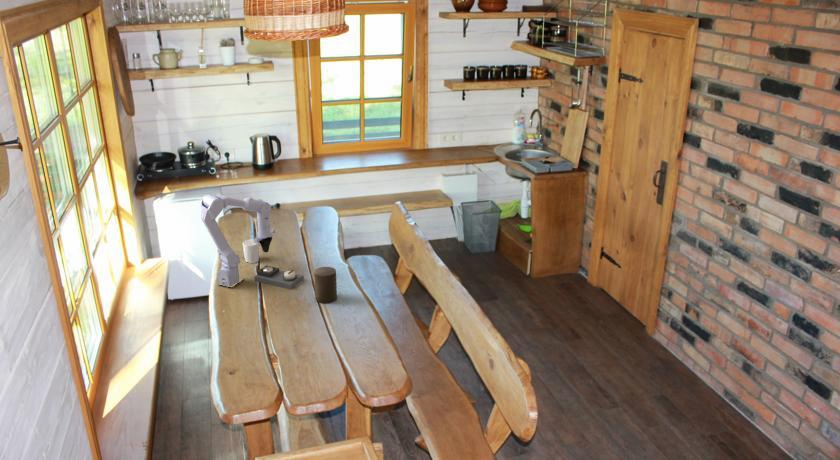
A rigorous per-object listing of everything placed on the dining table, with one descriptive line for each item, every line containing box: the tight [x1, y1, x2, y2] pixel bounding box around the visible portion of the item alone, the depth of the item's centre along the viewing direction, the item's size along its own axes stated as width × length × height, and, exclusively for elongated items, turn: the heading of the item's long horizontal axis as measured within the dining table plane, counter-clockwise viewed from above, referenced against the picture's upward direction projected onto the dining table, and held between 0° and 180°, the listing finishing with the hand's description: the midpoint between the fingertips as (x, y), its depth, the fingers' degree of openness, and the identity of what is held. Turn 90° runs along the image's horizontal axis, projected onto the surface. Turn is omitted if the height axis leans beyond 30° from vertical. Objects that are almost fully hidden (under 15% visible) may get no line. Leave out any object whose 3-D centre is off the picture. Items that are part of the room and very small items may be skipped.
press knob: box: [263, 266, 273, 273], centre depth 334 cm, size 4×4×2 cm
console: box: [254, 264, 305, 290], centre depth 332 cm, size 11×20×4 cm, turn 66°
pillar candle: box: [314, 266, 338, 304], centre depth 315 cm, size 10×10×15 cm
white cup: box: [242, 238, 260, 264], centre depth 352 cm, size 8×8×10 cm
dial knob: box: [284, 269, 296, 279], centre depth 329 cm, size 5×5×2 cm
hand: (265, 251), depth 338 cm, fingers closed
